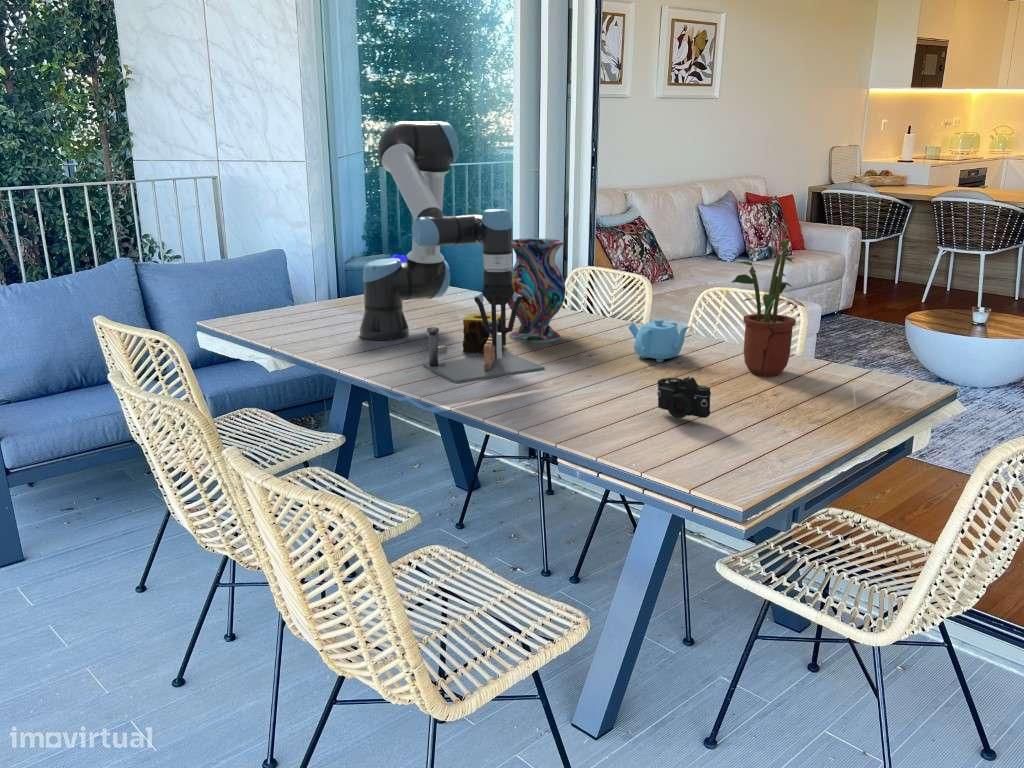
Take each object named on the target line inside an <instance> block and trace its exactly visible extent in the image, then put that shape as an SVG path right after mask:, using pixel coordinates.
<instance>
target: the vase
mask: <svg viewBox="0 0 1024 768" xmlns="http://www.w3.org/2000/svg"><path fill="white" fill-rule="evenodd" d="M563 244H564V241H562V240H560V239H555V238H541V237H540V238H537V237H536V238H531V237H530V238H517V239H516V238H515V239H512V250H513V251H514V253H515V260H516V261H515V262H514V263H515V264H514V266H512V268H511V271H512V287H513V289H514V292H515V293H517V294H518V295H521V296H522V300H521V302H520V304H519V305H518V309H517V313H516V317H517V318H518V321H519V323H520V325H519V326H518V328H516V329H515V330H513V331H511V333H510V334H509V335H508V338H509V339H510V340H513V341H516V342H521V343H529V344H530V343H532V344H541V343H542V344H543V343H549V342H554V341H558V340H559V339H560V338H561V337H562V336H561V334H560V333H558V332H557V331H556V330H554V329H553V328H552V327H551V325H550V323H551V321H552V319H553V318H554V317H555V316H556V315H557V314H558V312H559V311H560V309H562V306H563V304H564V301H565V297H566V296H565V295H566V285H565V279H564V276H563V275H562V272H561V271H560V270H559V267H558V265H557V263H556V254H557V252H558V250H559V249H560V248H561V247H562V245H563ZM513 304H514V301H513V296H512V297H511V299H510V300H509V301H508V303H507V306H509V307H508V308H509V309H510V310H511V311H512V308H513Z"/></svg>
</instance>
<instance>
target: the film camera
mask: <svg viewBox="0 0 1024 768" xmlns="http://www.w3.org/2000/svg"><path fill="white" fill-rule="evenodd" d="M711 394H712V393H711V387H709V386H707V385H703V384H702V385H699V384H698V383H697V381H696V379H695V377H693V376H691V377H690V376H689V375H688V376H686V377H684V378H679V377H669V378H668V377H665V378H664V377H663V378H660V379H659V380H658V381H657V391H656V395H657V398H658V399H657V407H658V408H659V409H661V410H665V411H667V412H668V413H669V415H671V417H674V418H675V419H683V418H685V417H688V416H689V417H690V416H693V417H697V418H701V419H704V418H705V419H707V418H708V417H710V415H711Z"/></svg>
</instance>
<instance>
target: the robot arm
mask: <svg viewBox="0 0 1024 768" xmlns="http://www.w3.org/2000/svg"><path fill="white" fill-rule="evenodd" d="M377 151H378V152H377V154H378V159H379V161H380V163H381V165H382V167H383V168H384V170H385V171H387V172H389V173H390V175H391V177H392V179H393V181H394V182H395V184H396V186H397V188H398V190H399V193H400V194H401V197H402V199H403V200H404V202H405V203H406V206H407V208H408V210H409V211H410V214H411V216H412V218H413V221H412V226H411V234H412V241H411V242H412V245H411V250H410V251H409V252H408V253H407V254H406V256H407V261H406V262H405V263H402V262H401V260H400V259H398V258H390V257H388V258H381V259H375V260H371V261H369V262H367V263H365V265H364V266H363V268H362V269H363V271H362V274H363V275H362V283H363V301H364V313H363V315H362V320H361V324H360V327H359V336H360V337H361V338H362V339H366V340H370V341H371V340H373V341H390V340H400V339H404V338H407V337H408V336H409V335H410V328H409V327H410V326H409V325H408V321H407V319H406V316H405V313H404V311H403V308H404V307H403V301H411V300H424V299H425V300H426V299H431V300H432V299H433V298H440V297H442V296H444V295H445V294H446V293H447V291H448V289H449V286H450V282H451V272H450V270H451V269H450V266H449V263H448V262H447V261H446V260H445V257H444V255H443V254H442V253H441V252H440V251H441V246H442V247H443V246H454V245H457V246H458V245H459V246H460V245H471V244H472V245H474V244H475V245H476V244H478V245H479V244H480V245H482V265H483V266H482V267H483V269H484V271H483V275H482V276H483V287H482V290H481V293H479V294H477V295H474V297H473V299H474V302H475V303H476V305H477V307H478V308H479V314H481V317H482V321H483V324H484V328H485V331H486V332H489V333H491V334H492V345H493V346H497V359H502V353H503V350H502V349H503V346H504V347H505V346H506V344H507V333H510V332H511V333H512V332H513V331H514V330H513V329H514V325H515V322H516V321H515V320H516V317H517V316H516V313H517V309H518V305H519V304H520V302H521V300H522V296H521V295H518V294H517V293H515V292H514V289H513V287H512V269H513V253H512V252H513V251H512V250H513V248H512V240H513V237H512V235H513V234H512V230H513V229H512V228H513V224H512V215H511V214H512V213H511V211H510V210H508V209H505V208H503V209H502V208H490V209H484V210H483V211H482V214H481V213H471V214H466V215H445V214H444V213H443V206H444V191H445V188H444V187H445V176H446V175H447V174H448V173H449V172H450V171H451V164H454V163H455V162H457V160H458V158H459V156H460V155H459V154H460V144H459V138H458V135H457V133H456V130H455V129H454V127H453V126H452V125H451V124H450V123H448V122H446V121H438V120H434V121H433V120H432V121H431V120H427V121H426V120H425V121H423V120H422V121H418V120H417V121H408V120H406V121H405V120H403V121H402V120H401V121H398V122H394V123H393V124H391V125H389V126H388V127H387V128H386V129H385V130H384V131H383V133H381V136H380V138H379V140H378V145H377ZM512 296H513V301H514V304H513V308H512V310H511V311H510V316H509V317H510V318H509V321H508V326H507V323H506V322H507V321H506V317H507V315H506V313H507V311H506V308H507V307H506V305H508V301H509V300H510V299H511V297H512ZM484 298H485V300H486V301H487V302H488V303H489V304H490V305H491V306H490V308H491V310H490V311H491V314H492V328H491V327H489V323H488V320H487V316H486V314H487V313H486V309H485V306H484V301H485V300H484ZM497 306H500V315H501V333H497V329H496V314H497Z"/></svg>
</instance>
